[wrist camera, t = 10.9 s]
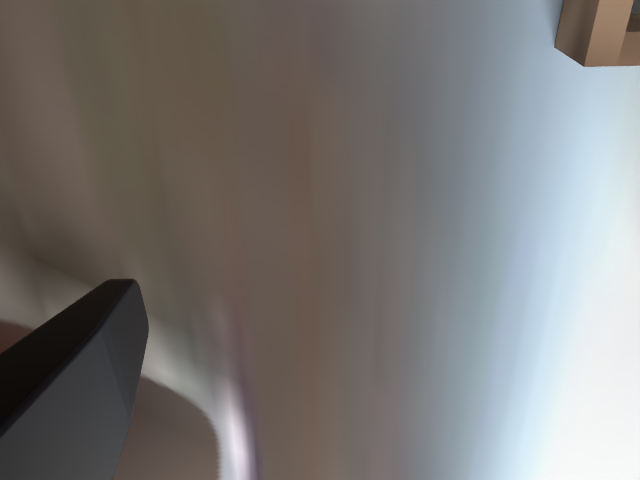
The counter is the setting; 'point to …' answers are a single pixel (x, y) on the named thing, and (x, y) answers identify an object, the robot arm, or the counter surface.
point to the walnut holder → (599, 33)
